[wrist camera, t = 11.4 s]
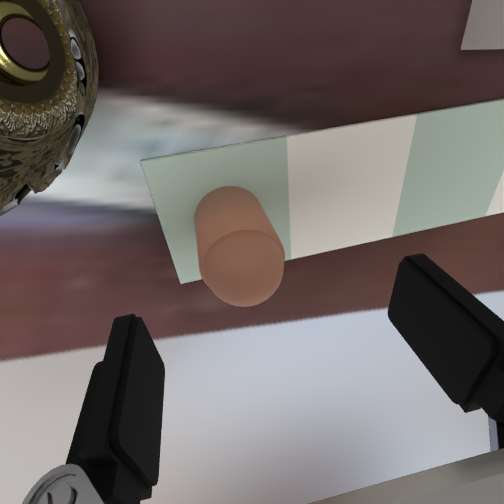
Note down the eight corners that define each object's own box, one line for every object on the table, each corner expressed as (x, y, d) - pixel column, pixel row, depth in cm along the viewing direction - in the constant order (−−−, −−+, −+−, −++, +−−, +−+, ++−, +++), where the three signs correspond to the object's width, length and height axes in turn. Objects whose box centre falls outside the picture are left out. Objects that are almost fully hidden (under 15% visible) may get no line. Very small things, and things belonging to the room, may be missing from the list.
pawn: (259, 180, 16) (299, 242, 11) (264, 240, 18) (299, 315, 13) (187, 192, 16) (192, 263, 10) (201, 252, 18) (211, 335, 13)
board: (633, 76, 18) (639, 76, 18) (566, 195, 23) (570, 197, 22) (140, 160, 14) (140, 161, 14) (180, 281, 19) (180, 283, 19)
